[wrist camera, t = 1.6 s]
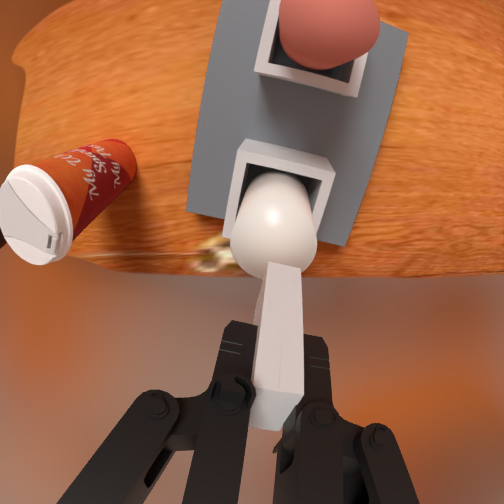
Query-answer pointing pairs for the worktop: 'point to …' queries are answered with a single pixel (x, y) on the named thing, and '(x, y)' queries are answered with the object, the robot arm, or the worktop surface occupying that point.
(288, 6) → the red plug
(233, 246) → the plug
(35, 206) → the coffee cup
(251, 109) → the board
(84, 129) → the worktop surface
